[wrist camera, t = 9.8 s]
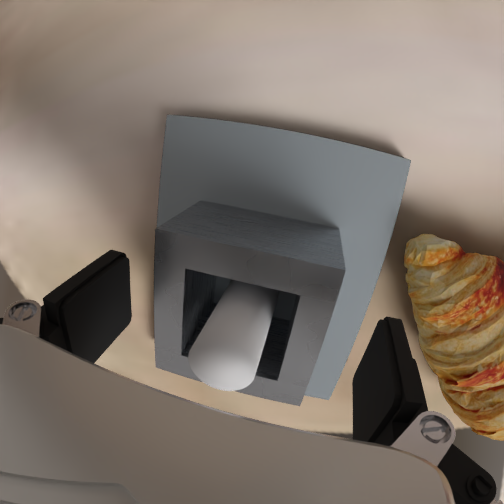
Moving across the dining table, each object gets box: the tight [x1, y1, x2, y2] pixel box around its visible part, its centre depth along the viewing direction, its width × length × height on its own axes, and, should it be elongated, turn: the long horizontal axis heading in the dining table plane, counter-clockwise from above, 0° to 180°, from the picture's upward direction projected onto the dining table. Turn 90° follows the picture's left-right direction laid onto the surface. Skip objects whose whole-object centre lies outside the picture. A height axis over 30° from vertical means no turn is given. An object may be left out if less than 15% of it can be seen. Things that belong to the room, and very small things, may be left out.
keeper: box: [157, 115, 411, 400], centre depth 13 cm, size 14×11×8 cm
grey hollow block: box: [154, 200, 346, 406], centre depth 14 cm, size 6×6×4 cm
